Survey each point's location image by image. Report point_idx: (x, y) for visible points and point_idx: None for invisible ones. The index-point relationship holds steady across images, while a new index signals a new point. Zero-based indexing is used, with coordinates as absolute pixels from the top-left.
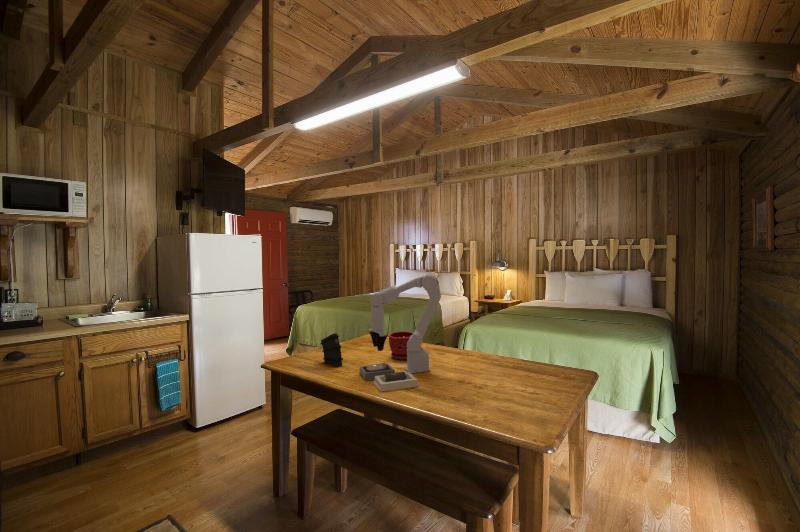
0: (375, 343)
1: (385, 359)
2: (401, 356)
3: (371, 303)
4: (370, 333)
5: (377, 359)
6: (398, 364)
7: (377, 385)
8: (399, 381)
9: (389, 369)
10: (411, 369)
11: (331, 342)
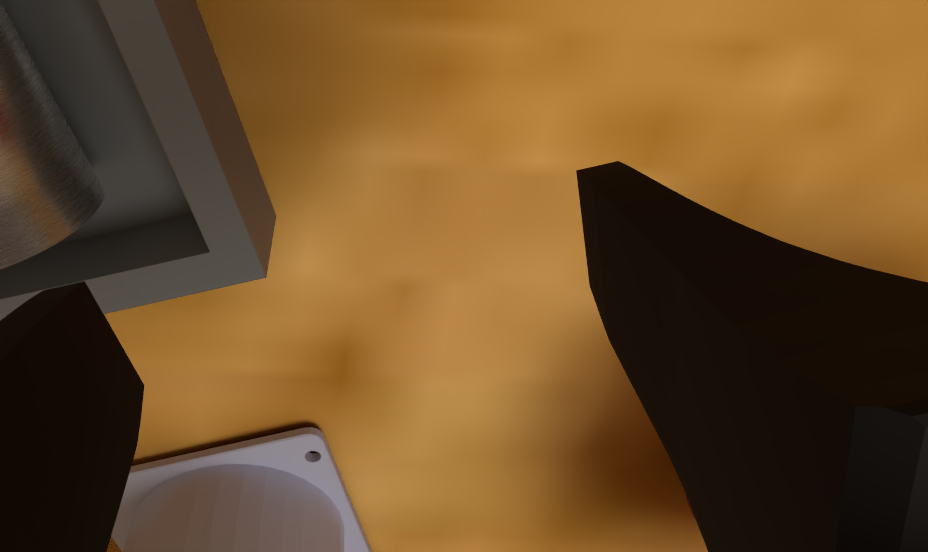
0: (612, 272)
1: (835, 203)
2: None
3: None
4: (838, 407)
5: (901, 73)
6: (522, 363)
7: None
8: None
9: (12, 278)
10: (137, 519)
11: None
